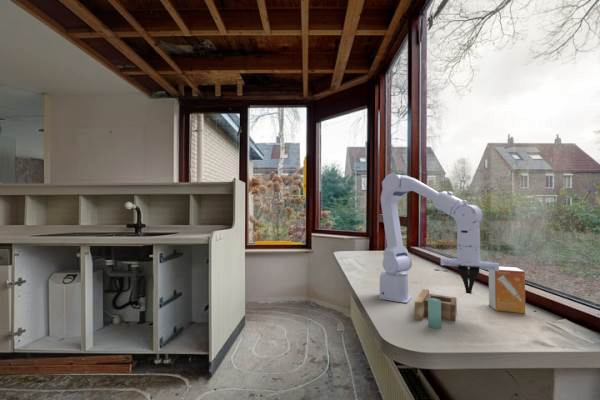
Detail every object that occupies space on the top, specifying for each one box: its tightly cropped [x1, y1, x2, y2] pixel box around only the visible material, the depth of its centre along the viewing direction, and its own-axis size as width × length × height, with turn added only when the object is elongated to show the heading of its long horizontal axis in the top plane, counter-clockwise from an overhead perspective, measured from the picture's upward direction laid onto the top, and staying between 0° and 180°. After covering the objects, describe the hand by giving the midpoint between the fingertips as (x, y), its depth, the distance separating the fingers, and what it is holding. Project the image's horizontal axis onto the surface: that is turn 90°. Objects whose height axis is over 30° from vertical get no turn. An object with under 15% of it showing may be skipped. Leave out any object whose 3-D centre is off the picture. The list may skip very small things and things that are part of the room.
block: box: [424, 293, 458, 322], centre depth 86 cm, size 8×8×4 cm
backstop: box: [414, 288, 430, 321], centre depth 88 cm, size 2×15×5 cm, turn 149°
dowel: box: [427, 298, 442, 329], centre depth 77 cm, size 3×3×7 cm
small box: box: [488, 265, 526, 314], centre depth 91 cm, size 8×6×13 cm
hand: (468, 292), depth 82 cm, fingers closed
